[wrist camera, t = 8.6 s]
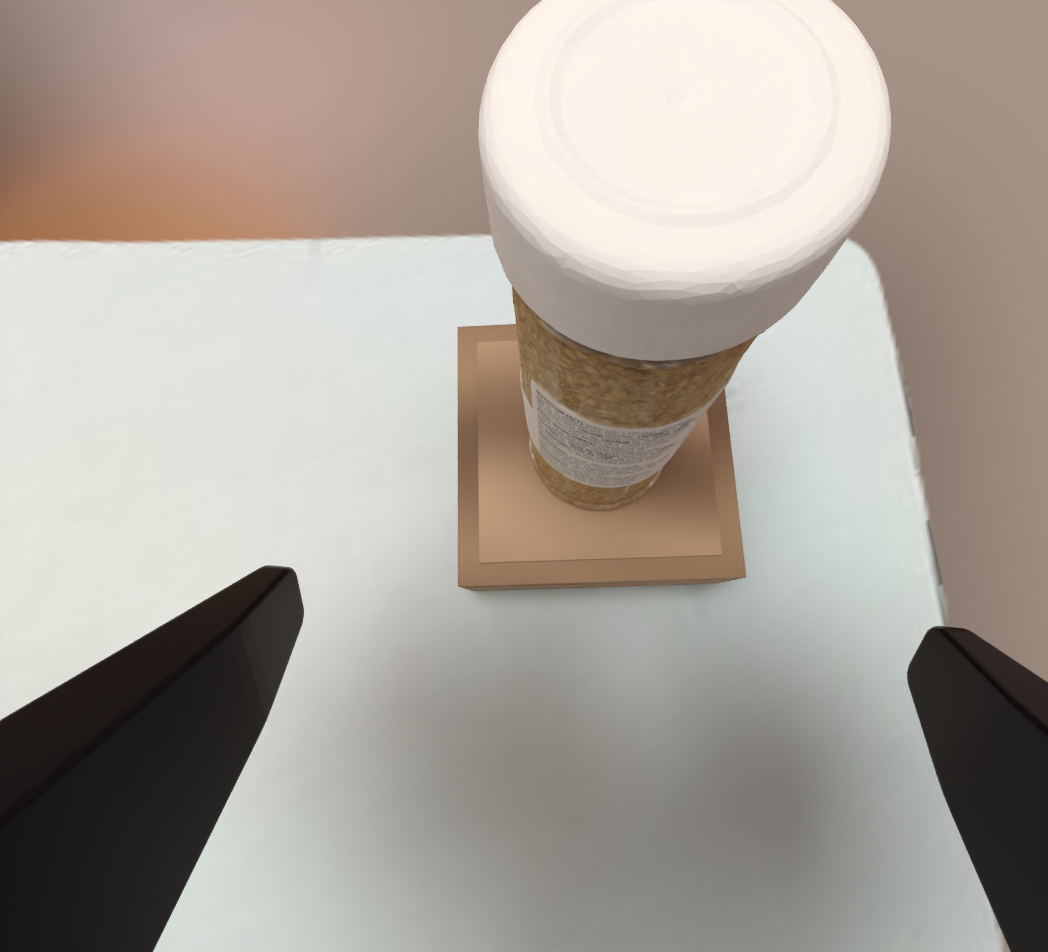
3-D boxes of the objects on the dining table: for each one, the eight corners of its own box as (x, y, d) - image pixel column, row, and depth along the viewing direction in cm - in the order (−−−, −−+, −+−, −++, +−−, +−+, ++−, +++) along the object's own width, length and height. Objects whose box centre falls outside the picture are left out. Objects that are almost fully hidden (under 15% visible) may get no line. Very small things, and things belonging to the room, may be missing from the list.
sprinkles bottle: (566, 360, 20) (587, -120, 7) (690, 416, 19) (972, 0, 6) (503, 476, 19) (394, 179, 6) (631, 540, 18) (812, 357, 5)
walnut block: (715, 583, 22) (747, 576, 18) (472, 591, 22) (457, 586, 18) (692, 357, 24) (717, 312, 20) (471, 367, 24) (456, 324, 21)
